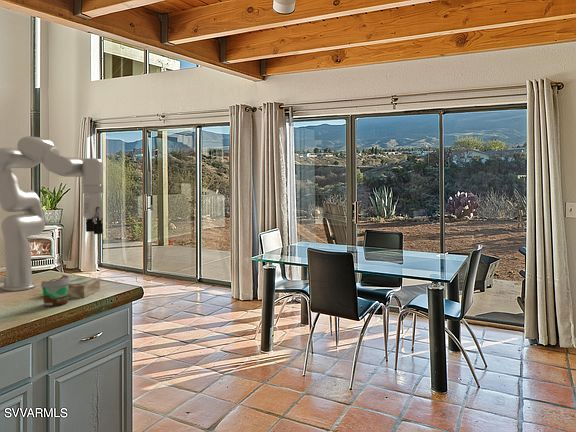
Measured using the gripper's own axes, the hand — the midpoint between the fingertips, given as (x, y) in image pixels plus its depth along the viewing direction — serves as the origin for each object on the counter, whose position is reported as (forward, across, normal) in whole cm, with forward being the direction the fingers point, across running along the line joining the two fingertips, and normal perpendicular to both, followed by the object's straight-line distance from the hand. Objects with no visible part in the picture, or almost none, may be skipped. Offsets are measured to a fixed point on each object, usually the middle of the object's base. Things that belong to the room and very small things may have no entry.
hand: (94, 232), depth 185 cm
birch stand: (+26, -11, -5) cm, 29 cm away
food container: (+26, +3, -14) cm, 30 cm away
